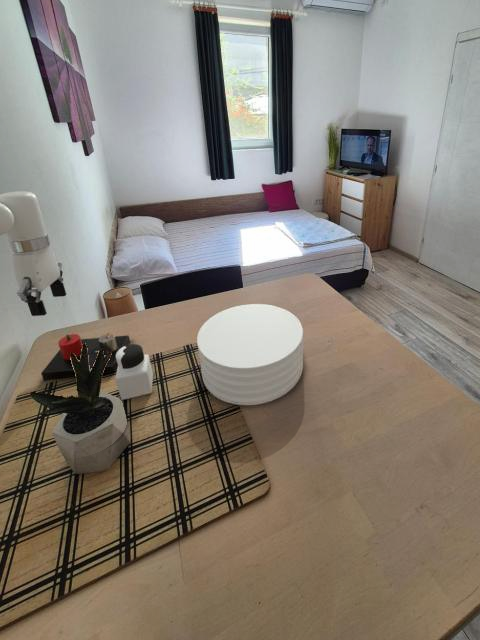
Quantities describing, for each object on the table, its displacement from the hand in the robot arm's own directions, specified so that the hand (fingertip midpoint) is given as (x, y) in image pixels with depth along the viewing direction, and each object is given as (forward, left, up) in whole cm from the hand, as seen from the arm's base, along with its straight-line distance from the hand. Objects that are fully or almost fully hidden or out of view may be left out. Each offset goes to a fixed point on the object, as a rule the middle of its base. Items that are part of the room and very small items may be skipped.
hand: (50, 305), depth 85 cm
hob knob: (+11, +1, -17) cm, 20 cm away
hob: (+5, +1, -20) cm, 20 cm away
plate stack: (+52, -8, -20) cm, 56 cm away
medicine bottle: (+22, -12, -20) cm, 32 cm away
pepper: (+1, +1, -17) cm, 17 cm away
